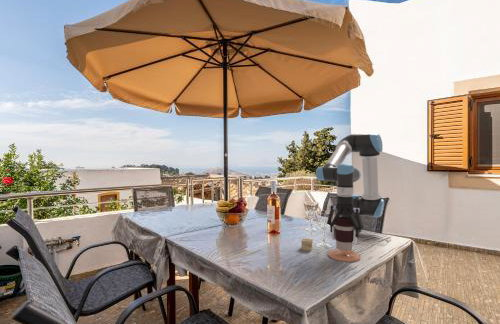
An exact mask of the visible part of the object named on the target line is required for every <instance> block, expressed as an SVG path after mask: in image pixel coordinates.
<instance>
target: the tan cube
mask: <svg viewBox="0 0 500 324" xmlns="http://www.w3.org/2000/svg"><path fill="white" fill-rule="evenodd" d="M300 245H301V251H308V252H312V250H313V238H308V237H307V238H304V237H303V238H302V239H301V244H300Z"/></svg>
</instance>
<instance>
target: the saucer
mask: <svg viewBox="0 0 500 324" xmlns="http://www.w3.org/2000/svg"><path fill="white" fill-rule="evenodd" d="M327 252H328V253H327V255H328V258H330V259H332V260H334V261H338V262H344V263H354V262H359V261H360V260H361V257H362V256H361V254H360V253H358V252H356V251H354V250H350V251H342V250H339V249H337V248H336V249H330V250H328V251H327Z"/></svg>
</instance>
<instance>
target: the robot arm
mask: <svg viewBox="0 0 500 324" xmlns="http://www.w3.org/2000/svg"><path fill="white" fill-rule="evenodd" d="M383 146H384V145H383V140H382V137H381V135H380V134H379V133H377V132H376V133H375V132H374V133H373V132H368V133H367V132H366V133H352V134H349V135H347V136H345V137H343V138H342V139H340V140H339V141H338V143H337V144H336V146H335V149H334V151H333V153H332V154H331V155H330V157H329V159H328V160H327V162H326V163H325V165H324V166H318V167H316V170H315V177H316V178H315V179H317V180H318V181H323V182H336V195H337V196H336V205H335V204H332V205H330V210H329V213H328V217H327V221H326V224H327V225H329V226H330V233H331V240H332V241H334V240H336V239H335V224H334V220H335V221H336V220H337V218H338V217H348V218H350V220H351V222H352V223H354V237H353V243H352V245H356V244H357V242H358V238H359V237H360V232H361V231H362V230H363V229H364V225H363V221H362V217H361V216H365V217H371V218H372V217H373V218H380V217H381V216H382V215H383V212H384V209H385V208H384V207H385V200H384V199H383V198H382V195H381V194H380V193H379V178H378V177H379V175H378V172H379V171H378V170H379V169H378V158H379V156H380V154H381V153H382V152H383ZM351 153H358V155H359V156H360V158H361V163H362V165H361V166H362V180H363V181H362V184H363V194H361V197H360V195H359V194H354V183H355V182H357V181H359V180H360V178H361V171H360V170H359V169H358V168H357V167H354V164H351V163H350V164H349V163H344V161H345V159H346V158H347V157H348V156H350V155H351ZM335 210H337V212H336V214H334V213H335ZM334 215H335V216H334Z"/></svg>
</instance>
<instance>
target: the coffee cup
mask: <svg viewBox="0 0 500 324" xmlns="http://www.w3.org/2000/svg"><path fill="white" fill-rule="evenodd" d="M334 226H335V239H334V240H335V247H336V249H339V250H342V251H353V250H352V249H353V238H354V223H352V222H351V220H350V218H348V217H341V216H339V217H338V218H337V220H336V221H335V220H334Z"/></svg>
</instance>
